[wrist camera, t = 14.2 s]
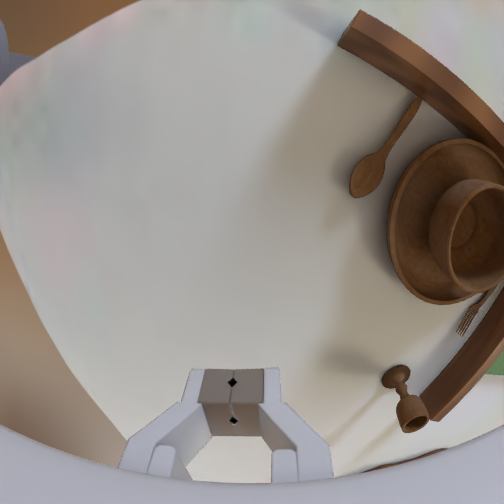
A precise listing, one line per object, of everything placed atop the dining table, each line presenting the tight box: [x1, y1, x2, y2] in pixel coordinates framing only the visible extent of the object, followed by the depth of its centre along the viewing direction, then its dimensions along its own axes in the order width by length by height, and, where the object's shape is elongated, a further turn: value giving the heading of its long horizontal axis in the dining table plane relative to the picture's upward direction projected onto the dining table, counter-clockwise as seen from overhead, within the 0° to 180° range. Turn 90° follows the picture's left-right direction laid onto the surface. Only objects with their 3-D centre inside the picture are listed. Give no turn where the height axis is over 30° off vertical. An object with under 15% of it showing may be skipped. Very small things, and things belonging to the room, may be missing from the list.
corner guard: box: [338, 10, 504, 422], centre depth 17 cm, size 24×24×4 cm
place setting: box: [349, 96, 504, 433], centre depth 17 cm, size 18×20×6 cm
